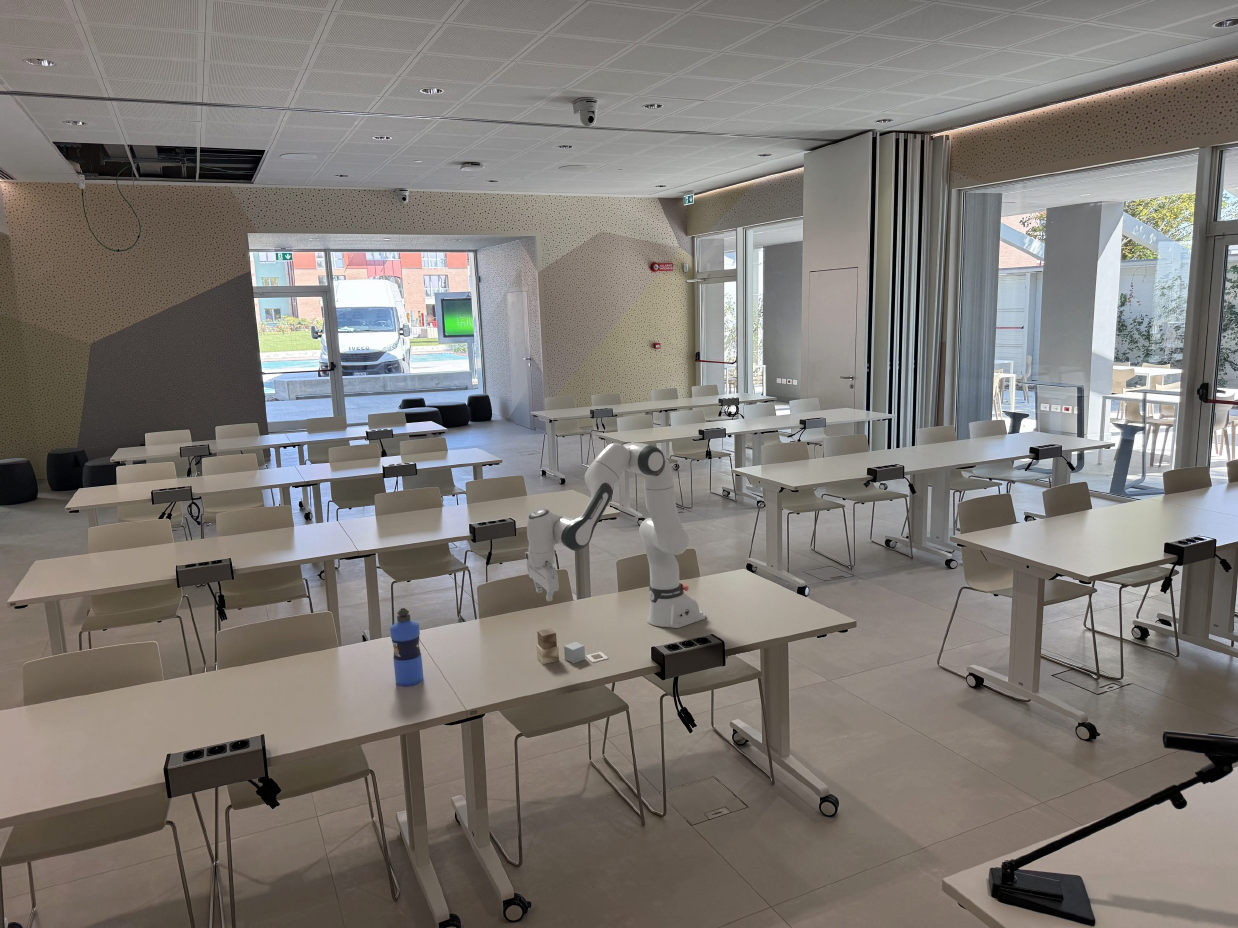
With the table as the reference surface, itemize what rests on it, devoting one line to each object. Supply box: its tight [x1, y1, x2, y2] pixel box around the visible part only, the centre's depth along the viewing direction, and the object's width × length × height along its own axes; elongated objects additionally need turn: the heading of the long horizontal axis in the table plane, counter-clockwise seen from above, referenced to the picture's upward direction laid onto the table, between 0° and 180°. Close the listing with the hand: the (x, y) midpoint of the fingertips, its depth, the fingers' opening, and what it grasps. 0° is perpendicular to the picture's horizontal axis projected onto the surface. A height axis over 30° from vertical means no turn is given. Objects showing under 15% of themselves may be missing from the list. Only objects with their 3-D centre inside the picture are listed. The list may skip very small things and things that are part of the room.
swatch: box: [585, 651, 609, 664], centre depth 293 cm, size 6×6×1 cm
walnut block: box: [536, 627, 558, 650], centre depth 293 cm, size 5×5×5 cm
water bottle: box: [389, 607, 424, 687], centre depth 279 cm, size 9×9×25 cm
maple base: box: [535, 643, 560, 665], centre depth 293 cm, size 6×6×5 cm
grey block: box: [563, 641, 586, 664], centre depth 292 cm, size 5×5×5 cm
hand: (544, 596), depth 289 cm, fingers open, 8 cm apart
